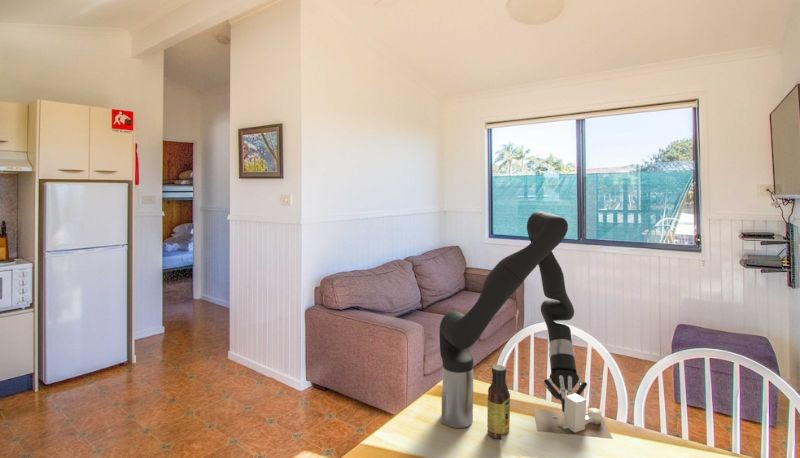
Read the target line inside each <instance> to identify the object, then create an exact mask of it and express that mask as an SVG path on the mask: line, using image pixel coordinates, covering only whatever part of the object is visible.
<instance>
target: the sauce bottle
mask: <svg viewBox="0 0 800 458" xmlns="http://www.w3.org/2000/svg"><path fill="white" fill-rule="evenodd" d="M491 373H492V378H491V381H492V382H491V384H490V385H489V387H488V389H487V419H486V420H487V422H486V423H487V434H488V435H489V436H490V437H492V438H493V439H496V440H502V438H503V437H502V436H506V435H508V433H509V432H510V425H511V424H510V423H511V421H510V420H511V419H510V418H511V416H510V415H511V394H510V391H509V388H508V385H507V375H506V374H507V367H506V366H505V365H502V364H501V365H500V364H494V365H492V366H491Z"/></svg>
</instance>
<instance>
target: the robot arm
mask: <svg viewBox="0 0 800 458" xmlns="http://www.w3.org/2000/svg"><path fill="white" fill-rule="evenodd" d="M568 229H569V224H568V221H567V220H566V218H564V217H563V216H560V215H557V214H553V213H549V212H545V211H541V210H540V211H535V212H533V213H532V214H531V215H530V216H529V218H528V219H527V222H526V231H527V235H528V238H529V241H530V243H529V244H528V245H527V246H525V247H523V248H522V249H520V250H518V251H516V252H513V253H512V254H509V255H507V256H505V257H504V258H502V259H501V260H500V261H499V262H498V263H496V265H495V266H494V267H493V268H492V269H491V270H490V272H489V273H488V274H487V275H486V277H485V280H484V282H483V284H482V288H481V291H480V294H479V297H478V299H477V300H476V302H475V303H474V305H473V306H472V307H471V308H470V310H469V311H467V312H466V314H463V313H461V312H460V311H455V310H454V311H449V312H447V313H446V314H445V315H444V316H443V317H442V319H441V321H440V324H439V352H440V357H441V360H442V390H441V424H442V425H443V424H444V425H446V426H448V427H450V428H455V429H465V428H467V427H468V428H469V426H471V425H472V424H473V423H474V421H473V420H474V358H473V355H472V353H471V352H470V349H469V348H471V347H472V346H473V345H475V343H476V342H477V341H478V340H479V338H480V337H481V336H482V334H483V333H484V332H485V330H486V328H487V326H488V325H489V323H491V321H492V319H493V318H494V317H495V316H496V314H497V313H498V312H499V311H500V310H501V309H502V307H503V306H504V305H505V303H506V302H507V301H508V300H509V299H510V298H511V296H512V295H513V294H514V293H515V292H516V291H517V289H518V288H519V287H521V285H522V284H523V283H524V281H525V280H526V279H527V277H529V275H530V274H531V273H532V272H533V271H534V269H535V268H537V266H538V267H539V272H540V278H541V285H542V291H543V294H544V296H545V297H546V298H548V300H547V299H546V300H544V301H543V302H542V303H541V306H540V312H541V315H542V318H543V320H544V322H545V325H546V328H547V333H548V344H549V347H548V352H549V354H548V356H549V365H550V374H549V378H546V379H544V381H543V386H544V387H545V388H546V389H547V390H548V391H549V393H550V394H551V395H552V396H553V398H554V399H555V400H559V401H560V402H561V412H564V409H565V396H567V395H570V394H573V389H574V388H575V387H576V385H577V388H578V389H577V391H576V392H575V393H576V394H578V395H580V396H581V394H582V393H583V392H584V391H585V389H586V387H587V386H588V383H587V382H586V381H583V380H581V379H580V377H579V375H578V372H577V365H576V355H575V350H574V346H573V339H572V332H571V328H570V326H568V325H566V324H563V323H559V322H561V321H571V320H572V319H573V317H574V315H575V308H574V305H573V302H571V300H570V298H569V296H568V293H567V290H566V283H565V276H564V272H563V270H562V266H561V265H560V263H559V261H558V260H557V258H556V256H555V254H554V252H553V250H554V249H555V248H557V246H559V244H561V242H562V241H563V240H564V239H565V237H566V236H567V232H568V231H569V230H568ZM557 321H559V322H557ZM553 384H554V386H555V387H556V388H557V389H558V390H557V389H556V388H555V387H554V386H553Z"/></svg>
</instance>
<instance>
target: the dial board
mask: <svg viewBox="0 0 800 458" xmlns="http://www.w3.org/2000/svg"><path fill="white" fill-rule="evenodd" d="M532 411H533V414H534V419H535V420H534V421H535V425H536V430H537V432H542V433H543V432H545V433H554V434H564V435H572V436H573V435H574V436H582V437H583V436H584V437H593V438H603V439H604V438H605V439H610V440H611V439H613V436H612V434H611V432H610V429H609V428H608V425H607V424H606V421H605V420H604V417H603V415H602V414H601V423H600V424H593V423H591V422H589V423H586V424H585V429H584V430H581V431H578V432H575V433H574V432H573V431H571V430H570V429H569V428H565V429H564V428H563V427H564V412H563V411H560V410H550V409H548V410H546V409H540V408H539V409H538V408H537V409H536V408H533V410H532ZM586 415H588V413H586Z"/></svg>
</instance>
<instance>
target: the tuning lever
mask: <svg viewBox="0 0 800 458" xmlns="http://www.w3.org/2000/svg"><path fill="white" fill-rule="evenodd" d="M586 412H587V413H586ZM586 414H588V415H586ZM601 415H602V411H601V409H599V408H595V407H589V408H588V409H587V399H586V398H585V397H584V396H581V395H578V394H576V392H574V393H572V394H570V395H567V394H566V396H565V409H564V427H563V428H564V429H565V428H569V429H570V430H571V431H573V432H574V433H575V432H578V431H581V430H584V429H585V424H586V423H589V422H591V423H593V424H600V423H601Z"/></svg>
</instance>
